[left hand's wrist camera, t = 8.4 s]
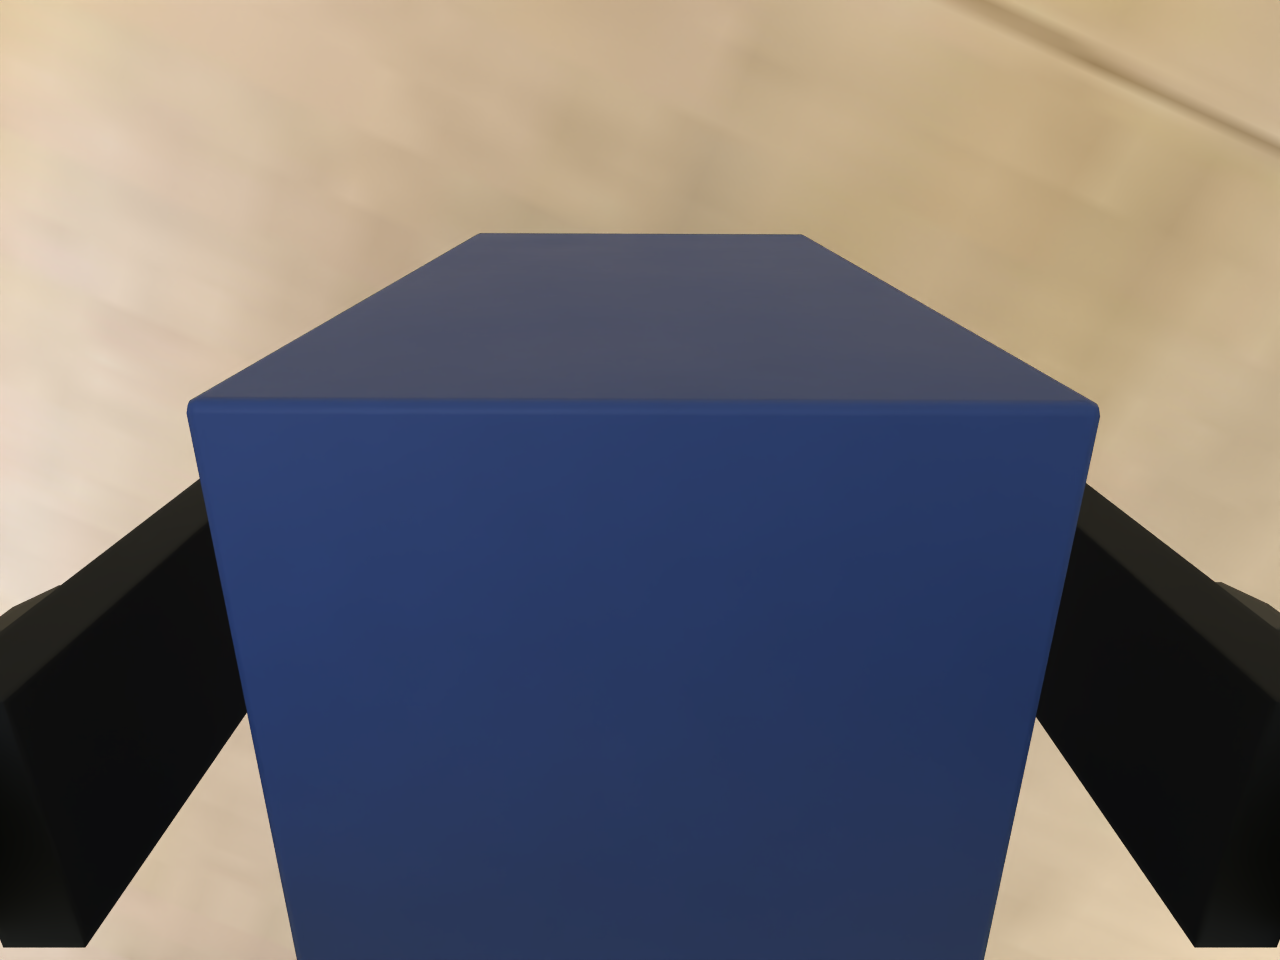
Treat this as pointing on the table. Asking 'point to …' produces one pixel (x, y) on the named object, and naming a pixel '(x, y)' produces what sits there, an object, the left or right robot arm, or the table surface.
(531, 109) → the table surface
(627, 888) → the bar
